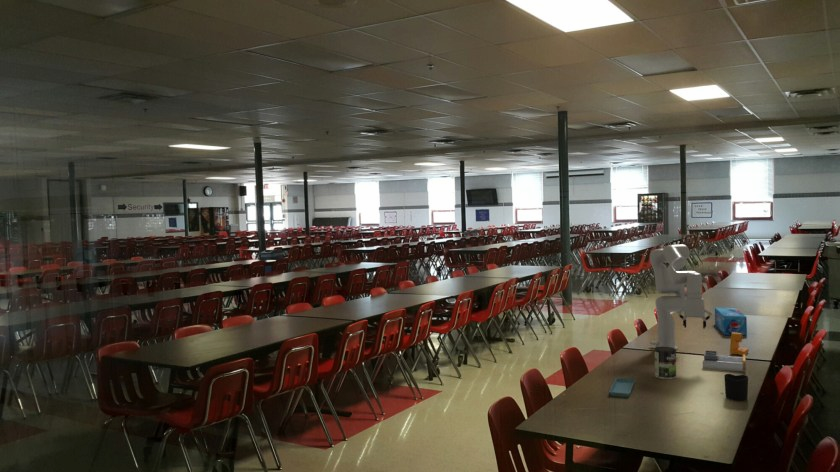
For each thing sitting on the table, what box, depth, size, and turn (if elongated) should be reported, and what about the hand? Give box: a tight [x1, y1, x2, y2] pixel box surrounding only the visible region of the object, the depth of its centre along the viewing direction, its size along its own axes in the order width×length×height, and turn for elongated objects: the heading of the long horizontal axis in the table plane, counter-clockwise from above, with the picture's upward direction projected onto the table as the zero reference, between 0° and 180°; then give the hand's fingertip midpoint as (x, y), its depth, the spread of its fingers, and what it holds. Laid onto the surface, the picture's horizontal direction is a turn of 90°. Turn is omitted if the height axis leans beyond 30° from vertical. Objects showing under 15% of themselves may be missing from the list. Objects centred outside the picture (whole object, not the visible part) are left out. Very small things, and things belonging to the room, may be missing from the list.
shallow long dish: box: [608, 377, 636, 398], centre depth 299 cm, size 26×9×2 cm, turn 156°
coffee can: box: [654, 347, 677, 380], centre depth 319 cm, size 10×10×14 cm
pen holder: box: [724, 373, 749, 402], centre depth 280 cm, size 9×9×10 cm
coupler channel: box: [702, 354, 747, 373], centre depth 334 cm, size 20×14×6 cm
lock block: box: [703, 350, 718, 361], centre depth 337 cm, size 6×9×7 cm
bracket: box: [729, 332, 749, 356], centre depth 360 cm, size 11×7×12 cm, turn 139°
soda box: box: [714, 306, 748, 336], centre depth 427 cm, size 40×14×13 cm, turn 163°
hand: (694, 327), depth 339 cm, fingers open, 8 cm apart
